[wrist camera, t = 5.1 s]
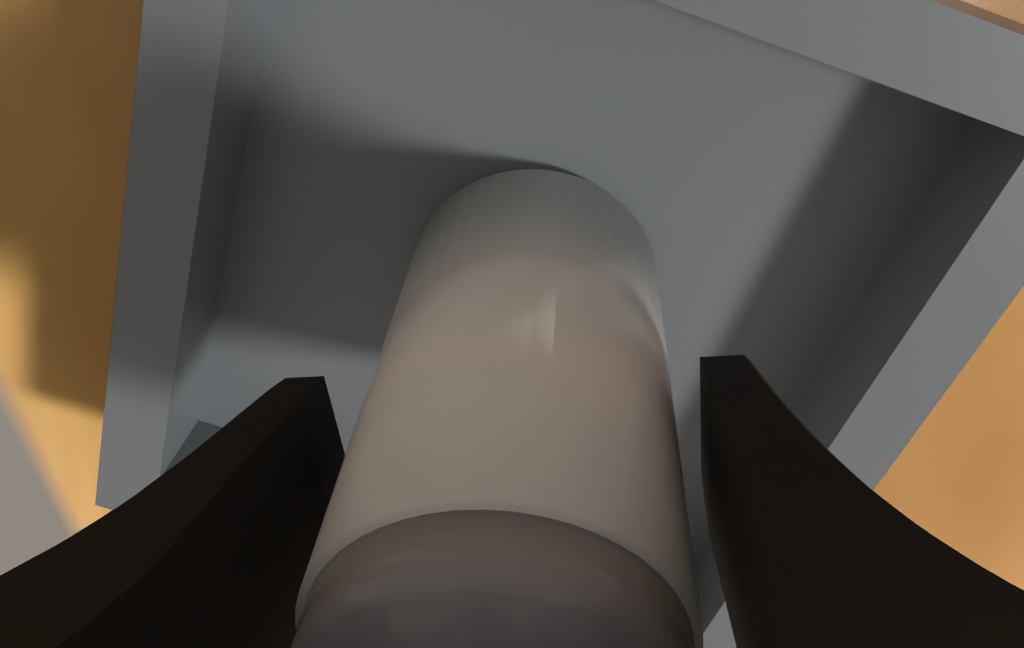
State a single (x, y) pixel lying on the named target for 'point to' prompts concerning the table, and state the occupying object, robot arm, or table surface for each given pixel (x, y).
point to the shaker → (513, 442)
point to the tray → (582, 153)
